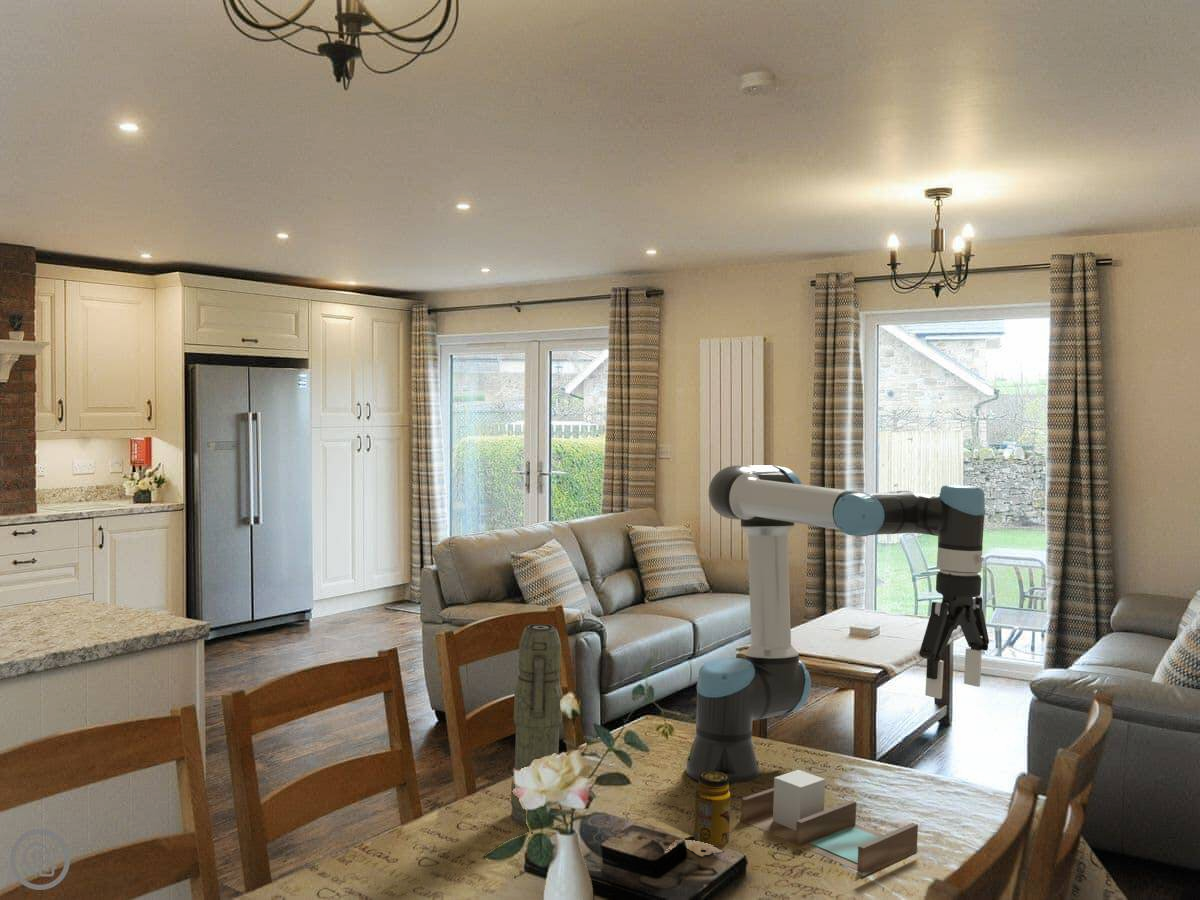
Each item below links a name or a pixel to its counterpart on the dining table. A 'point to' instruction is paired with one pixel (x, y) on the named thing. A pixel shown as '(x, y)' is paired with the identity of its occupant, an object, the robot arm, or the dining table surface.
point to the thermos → (536, 701)
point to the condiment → (712, 809)
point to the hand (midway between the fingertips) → (953, 690)
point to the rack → (833, 834)
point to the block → (797, 797)
